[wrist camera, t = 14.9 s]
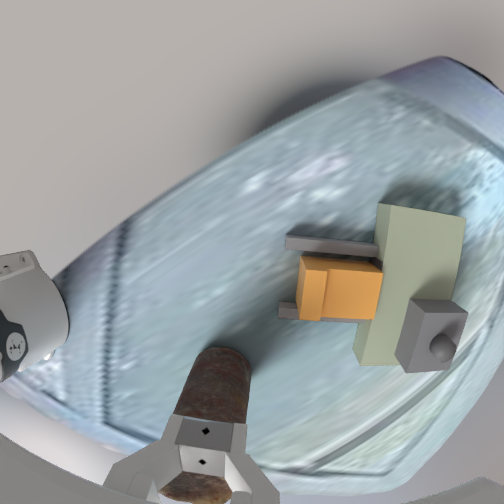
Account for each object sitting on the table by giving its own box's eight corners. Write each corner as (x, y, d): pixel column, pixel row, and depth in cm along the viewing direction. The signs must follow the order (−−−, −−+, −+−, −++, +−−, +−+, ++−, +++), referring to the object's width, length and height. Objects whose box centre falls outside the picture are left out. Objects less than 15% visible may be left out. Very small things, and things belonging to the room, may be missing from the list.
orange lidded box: (295, 297, 33) (299, 319, 28) (300, 255, 32) (306, 269, 26) (361, 302, 33) (376, 323, 27) (368, 261, 32) (386, 276, 26)
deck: (273, 344, 35) (272, 395, 25) (289, 192, 31) (296, 193, 21) (418, 348, 33) (451, 389, 24) (448, 214, 30) (498, 225, 20)
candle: (213, 330, 35) (164, 455, 15) (264, 359, 35) (257, 493, 16) (186, 370, 36) (133, 488, 17) (233, 396, 37) (210, 520, 17)
